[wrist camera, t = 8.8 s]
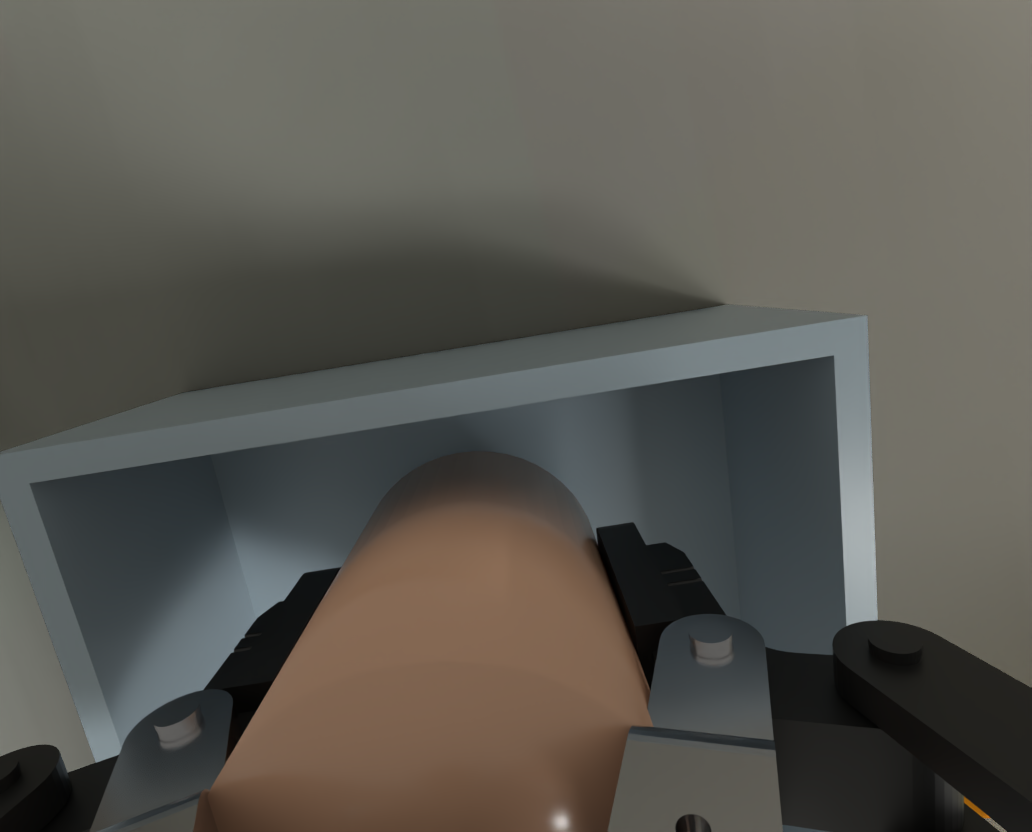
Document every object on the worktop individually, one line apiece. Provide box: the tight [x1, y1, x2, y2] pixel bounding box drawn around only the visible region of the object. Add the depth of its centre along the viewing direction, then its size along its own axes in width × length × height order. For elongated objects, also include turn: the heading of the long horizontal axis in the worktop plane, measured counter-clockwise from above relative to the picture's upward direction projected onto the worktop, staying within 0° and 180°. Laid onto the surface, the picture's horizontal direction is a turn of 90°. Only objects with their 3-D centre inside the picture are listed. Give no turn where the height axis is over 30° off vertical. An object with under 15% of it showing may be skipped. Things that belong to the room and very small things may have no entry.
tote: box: [0, 304, 878, 832], centre depth 13 cm, size 13×17×6 cm
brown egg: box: [207, 451, 653, 832], centre depth 9 cm, size 5×5×7 cm
